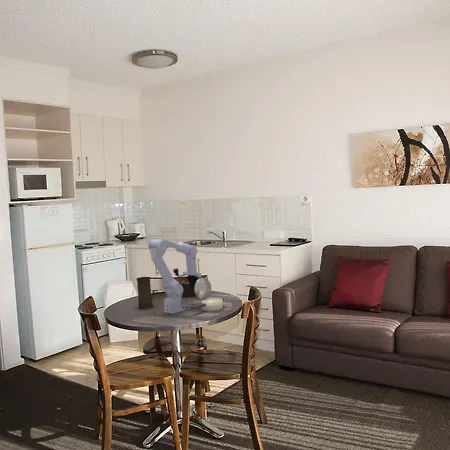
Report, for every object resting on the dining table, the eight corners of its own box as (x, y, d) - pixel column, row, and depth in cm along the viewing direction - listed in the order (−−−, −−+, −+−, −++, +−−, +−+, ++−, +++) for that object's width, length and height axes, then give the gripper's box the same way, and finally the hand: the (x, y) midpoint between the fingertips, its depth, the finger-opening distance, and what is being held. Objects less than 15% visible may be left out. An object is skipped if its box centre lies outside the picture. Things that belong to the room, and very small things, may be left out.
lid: (196, 301, 280) (194, 301, 282) (212, 296, 289) (210, 296, 290) (194, 279, 280) (192, 279, 282) (209, 276, 289) (207, 276, 290)
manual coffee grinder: (198, 293, 326) (196, 266, 324) (198, 296, 315) (196, 269, 313) (174, 295, 325) (172, 268, 323) (174, 298, 314) (172, 270, 312)
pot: (200, 316, 266) (199, 307, 266) (185, 313, 275) (185, 304, 274) (230, 307, 282) (229, 298, 282) (215, 304, 291) (214, 296, 291)
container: (150, 309, 289) (148, 279, 288) (135, 309, 291) (133, 279, 289) (155, 305, 298) (153, 276, 296) (141, 305, 300) (139, 276, 298)
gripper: (204, 265, 288) (206, 287, 289) (188, 263, 298) (189, 285, 299) (195, 267, 283) (197, 290, 284) (179, 265, 293) (181, 287, 294)
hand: (192, 288), depth 292 cm, fingers closed
